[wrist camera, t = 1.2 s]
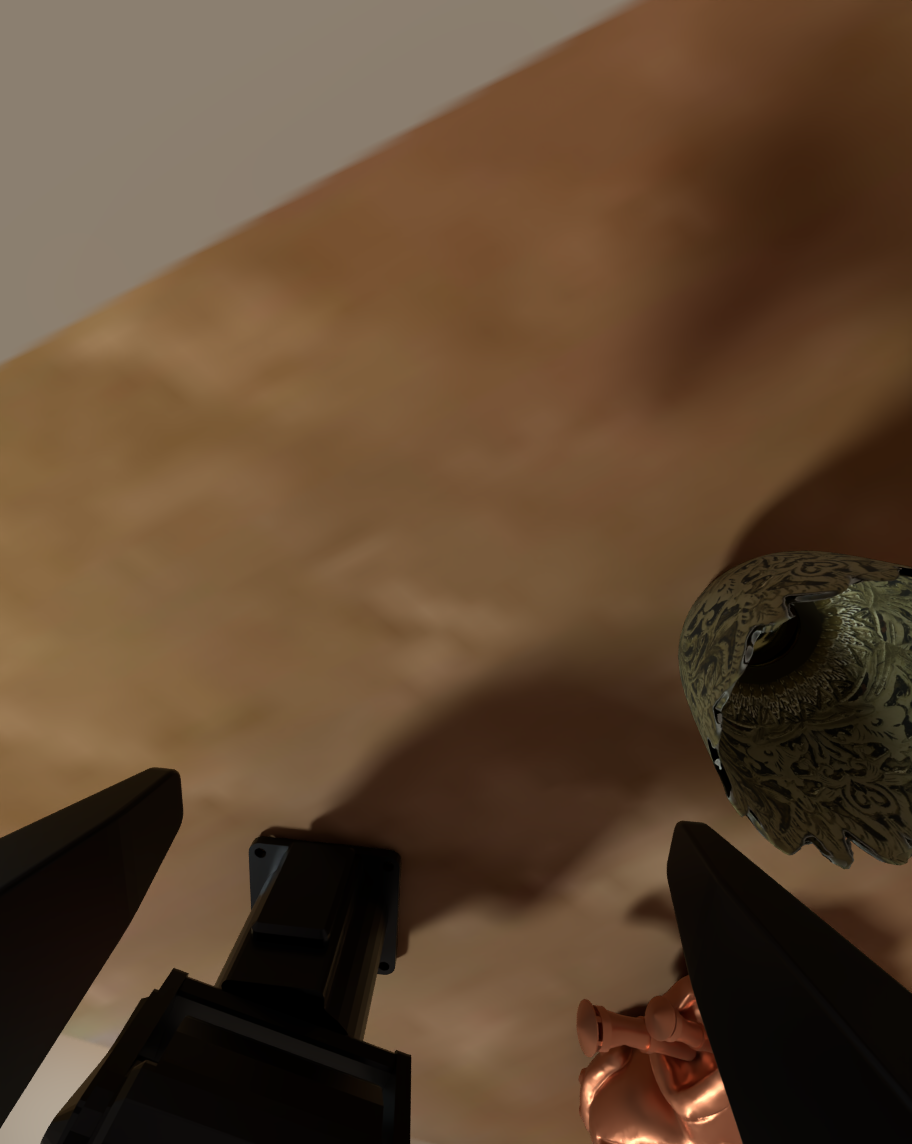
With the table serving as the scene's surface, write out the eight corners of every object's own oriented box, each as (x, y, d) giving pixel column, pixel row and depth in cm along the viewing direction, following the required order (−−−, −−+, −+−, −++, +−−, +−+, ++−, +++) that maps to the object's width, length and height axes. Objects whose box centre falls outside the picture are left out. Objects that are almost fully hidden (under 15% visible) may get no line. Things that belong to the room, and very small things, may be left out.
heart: (1046, 1195, 18) (650, 1007, 18) (807, 1325, 22) (481, 1177, 22) (923, 1004, 24) (620, 856, 23) (751, 1136, 28) (490, 1014, 27)
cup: (862, 674, 20) (1090, 831, 12) (662, 728, 21) (759, 903, 14) (824, 481, 18) (1061, 526, 11) (609, 551, 20) (684, 637, 12)
